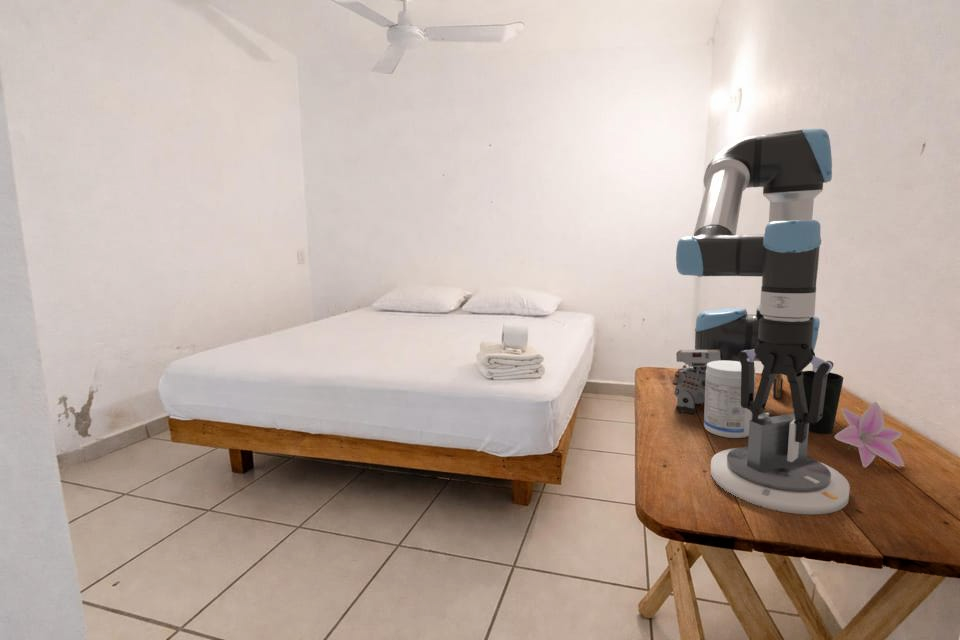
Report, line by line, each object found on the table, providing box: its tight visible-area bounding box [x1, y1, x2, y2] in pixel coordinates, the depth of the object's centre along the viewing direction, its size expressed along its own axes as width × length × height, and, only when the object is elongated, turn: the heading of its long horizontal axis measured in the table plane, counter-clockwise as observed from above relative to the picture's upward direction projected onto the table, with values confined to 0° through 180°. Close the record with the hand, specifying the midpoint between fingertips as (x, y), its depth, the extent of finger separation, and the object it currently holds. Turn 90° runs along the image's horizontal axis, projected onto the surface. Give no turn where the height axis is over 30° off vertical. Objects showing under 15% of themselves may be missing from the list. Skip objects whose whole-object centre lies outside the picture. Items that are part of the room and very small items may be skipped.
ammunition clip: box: [772, 373, 784, 400], centre depth 130 cm, size 11×2×12 cm, turn 150°
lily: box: [834, 401, 905, 468], centre depth 91 cm, size 12×12×10 cm
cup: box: [802, 370, 844, 435], centre depth 105 cm, size 8×8×12 cm
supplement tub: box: [703, 360, 757, 439], centre depth 105 cm, size 10×10×15 cm
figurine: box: [672, 349, 722, 415], centre depth 119 cm, size 9×12×15 cm
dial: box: [727, 412, 831, 492], centre depth 82 cm, size 15×15×9 cm
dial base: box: [710, 447, 851, 516], centre depth 83 cm, size 20×20×2 cm
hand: (776, 454), depth 83 cm, fingers closed on dial, 4 cm apart
